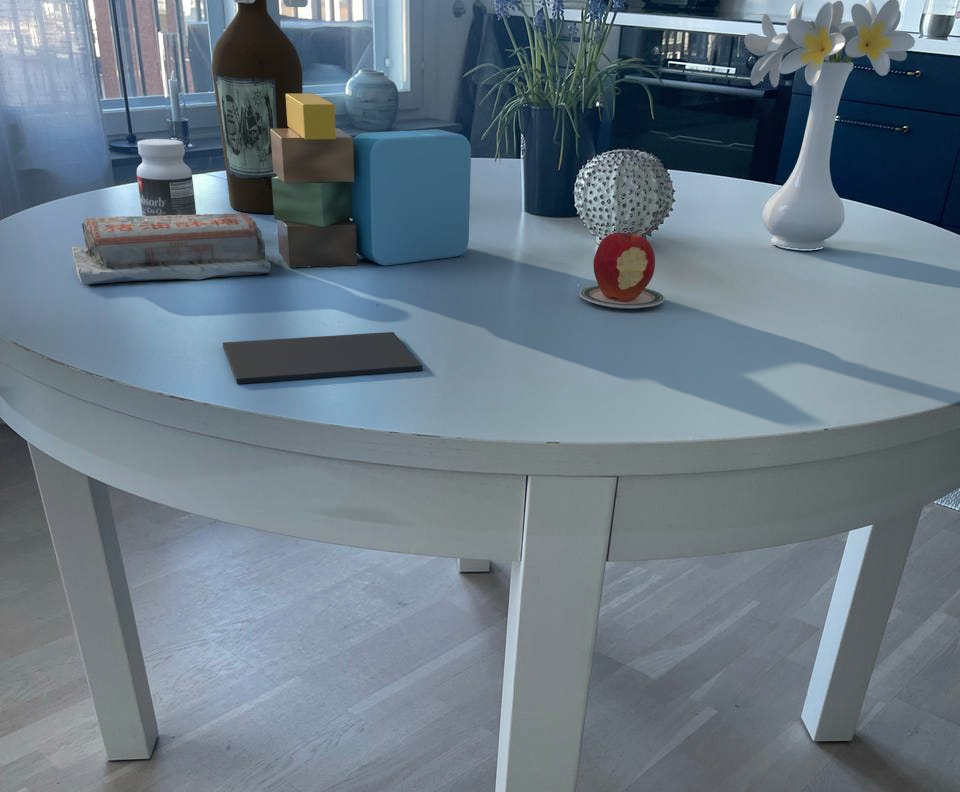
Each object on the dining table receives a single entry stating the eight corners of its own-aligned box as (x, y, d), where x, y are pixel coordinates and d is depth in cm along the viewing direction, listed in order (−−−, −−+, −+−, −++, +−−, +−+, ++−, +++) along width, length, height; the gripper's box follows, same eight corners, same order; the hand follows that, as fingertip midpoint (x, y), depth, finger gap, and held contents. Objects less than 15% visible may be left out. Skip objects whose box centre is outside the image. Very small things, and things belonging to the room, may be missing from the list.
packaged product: (248, 205, 105) (268, 224, 98) (252, 253, 108) (272, 276, 100) (64, 211, 99) (70, 232, 92) (73, 262, 102) (80, 287, 94)
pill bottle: (134, 241, 111) (120, 141, 106) (175, 233, 115) (163, 136, 110) (170, 249, 108) (157, 147, 103) (210, 241, 112) (199, 142, 107)
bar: (304, 139, 96) (302, 104, 94) (287, 126, 104) (285, 93, 102) (336, 139, 97) (334, 104, 95) (316, 126, 105) (314, 93, 103)
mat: (237, 384, 74) (236, 378, 73) (222, 347, 81) (222, 342, 81) (422, 370, 78) (422, 365, 77) (393, 336, 85) (393, 331, 85)
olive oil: (245, 197, 135) (225, -28, 121) (321, 202, 133) (309, -25, 120) (211, 211, 126) (186, -29, 112) (292, 217, 124) (276, -26, 111)
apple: (680, 303, 97) (690, 230, 93) (628, 317, 92) (637, 242, 88) (614, 285, 101) (621, 216, 98) (562, 299, 96) (567, 226, 93)
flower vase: (745, 226, 129) (783, -6, 116) (887, 250, 120) (946, 0, 106) (694, 241, 121) (729, -8, 107) (842, 268, 111) (901, -2, 98)
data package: (446, 247, 113) (448, 128, 107) (469, 255, 110) (472, 133, 104) (352, 258, 108) (348, 133, 101) (373, 267, 104) (370, 139, 98)
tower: (284, 270, 102) (274, 138, 96) (271, 251, 109) (262, 127, 103) (365, 266, 105) (361, 138, 98) (348, 248, 111) (343, 127, 105)
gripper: (169, -174, 95) (188, 0, 103) (286, -192, 82) (298, 8, 90) (229, -167, 99) (243, 1, 106) (350, -183, 86) (356, 9, 93)
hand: (269, 5), depth 98 cm, fingers open, 8 cm apart
